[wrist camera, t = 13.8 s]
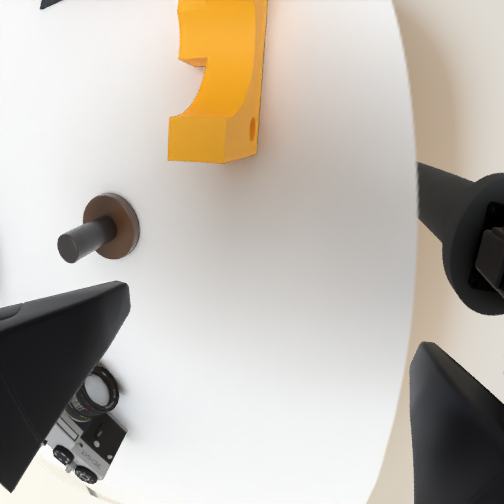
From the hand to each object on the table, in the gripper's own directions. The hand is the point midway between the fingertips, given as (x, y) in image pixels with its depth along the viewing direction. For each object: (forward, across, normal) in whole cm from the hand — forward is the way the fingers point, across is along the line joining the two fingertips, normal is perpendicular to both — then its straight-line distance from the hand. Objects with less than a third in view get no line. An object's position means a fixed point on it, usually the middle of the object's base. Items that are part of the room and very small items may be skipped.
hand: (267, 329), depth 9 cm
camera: (+12, +19, +23) cm, 32 cm away
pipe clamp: (+12, +6, -10) cm, 16 cm away
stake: (+12, +14, +2) cm, 18 cm away
